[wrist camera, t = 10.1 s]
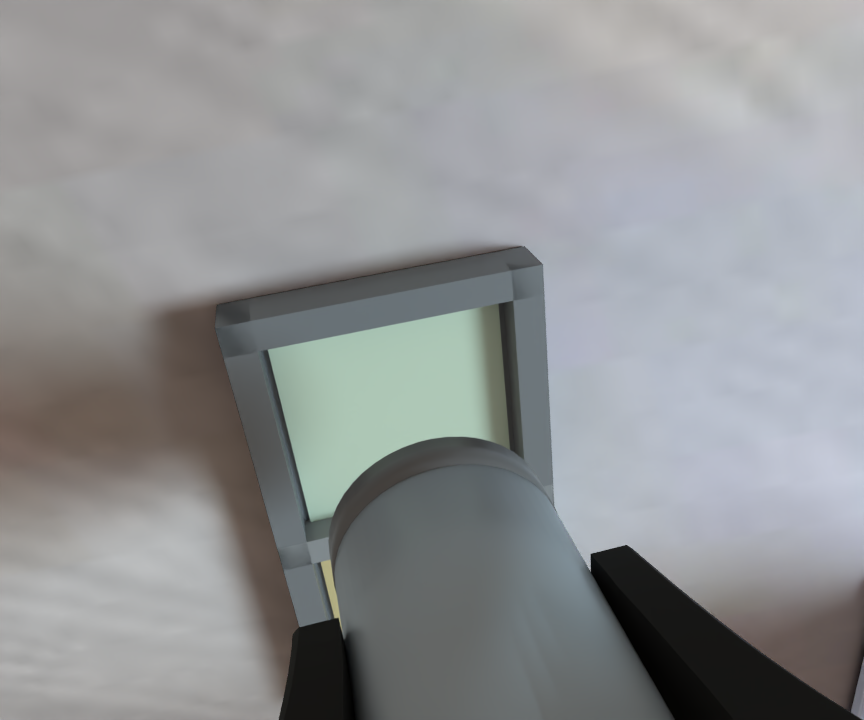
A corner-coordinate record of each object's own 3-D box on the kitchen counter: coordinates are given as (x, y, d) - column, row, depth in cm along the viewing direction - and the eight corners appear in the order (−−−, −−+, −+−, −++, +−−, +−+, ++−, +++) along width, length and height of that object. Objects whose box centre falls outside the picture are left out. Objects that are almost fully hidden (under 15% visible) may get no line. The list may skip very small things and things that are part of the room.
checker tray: (524, 246, 17) (542, 264, 16) (547, 631, 23) (561, 663, 22) (216, 304, 16) (215, 328, 15) (323, 690, 22) (327, 726, 21)
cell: (545, 417, 13) (812, 817, 7) (545, 589, 15) (755, 1020, 9) (312, 460, 12) (380, 942, 6) (343, 633, 14) (419, 1131, 8)
